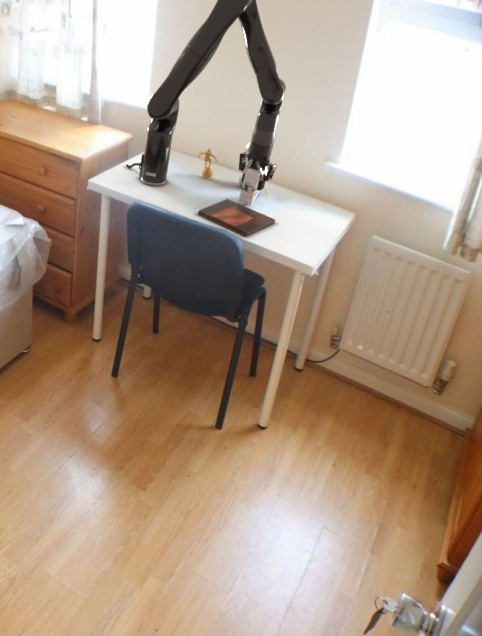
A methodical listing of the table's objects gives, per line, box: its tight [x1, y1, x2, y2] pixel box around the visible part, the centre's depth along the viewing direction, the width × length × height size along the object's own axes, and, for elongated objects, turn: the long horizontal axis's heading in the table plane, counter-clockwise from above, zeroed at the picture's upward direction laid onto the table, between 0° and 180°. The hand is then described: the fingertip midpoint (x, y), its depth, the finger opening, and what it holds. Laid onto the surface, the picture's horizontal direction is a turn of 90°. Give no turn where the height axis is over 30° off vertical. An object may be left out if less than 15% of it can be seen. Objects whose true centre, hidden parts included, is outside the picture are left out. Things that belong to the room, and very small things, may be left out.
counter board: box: [197, 198, 276, 238], centre depth 241 cm, size 20×16×2 cm
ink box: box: [238, 167, 263, 206], centre depth 249 cm, size 9×5×12 cm, turn 148°
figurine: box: [197, 148, 219, 179], centre depth 265 cm, size 8×6×12 cm
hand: (252, 186), depth 249 cm, fingers closed on ink box, 6 cm apart
